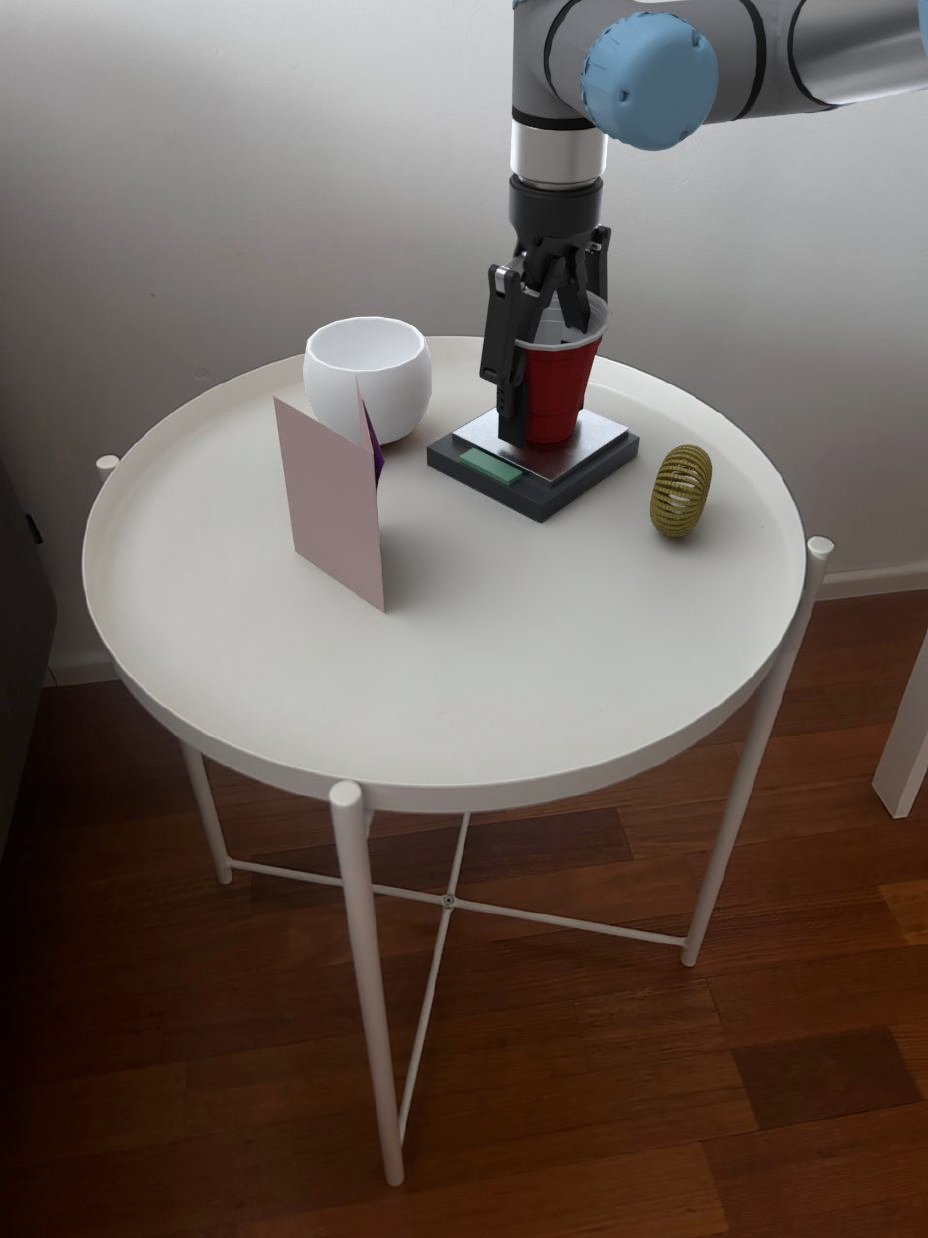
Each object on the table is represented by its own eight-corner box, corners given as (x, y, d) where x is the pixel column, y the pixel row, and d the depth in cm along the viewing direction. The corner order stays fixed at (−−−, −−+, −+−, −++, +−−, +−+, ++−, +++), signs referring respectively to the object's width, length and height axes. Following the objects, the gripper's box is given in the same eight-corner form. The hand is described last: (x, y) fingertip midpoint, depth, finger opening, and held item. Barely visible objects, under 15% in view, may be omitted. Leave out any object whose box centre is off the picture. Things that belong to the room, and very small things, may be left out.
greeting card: (395, 612, 81) (385, 452, 71) (302, 623, 80) (279, 463, 70) (378, 527, 89) (367, 373, 79) (293, 536, 88) (271, 382, 78)
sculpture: (665, 498, 92) (677, 422, 87) (708, 509, 91) (723, 433, 86) (638, 547, 87) (650, 469, 82) (684, 560, 86) (699, 481, 80)
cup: (287, 425, 102) (275, 336, 95) (389, 388, 107) (385, 302, 101) (352, 481, 94) (344, 389, 88) (458, 439, 100) (458, 349, 93)
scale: (637, 454, 98) (641, 429, 96) (540, 523, 90) (542, 497, 88) (526, 404, 105) (527, 380, 103) (426, 464, 97) (425, 439, 95)
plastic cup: (468, 446, 94) (469, 325, 86) (509, 391, 101) (513, 275, 93) (580, 470, 91) (591, 347, 83) (613, 413, 98) (627, 294, 90)
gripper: (597, 132, 88) (577, 370, 103) (431, 197, 76) (436, 453, 91) (669, 152, 84) (637, 395, 99) (507, 223, 72) (499, 485, 88)
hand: (541, 422), depth 95 cm, fingers closed on plastic cup, 8 cm apart
